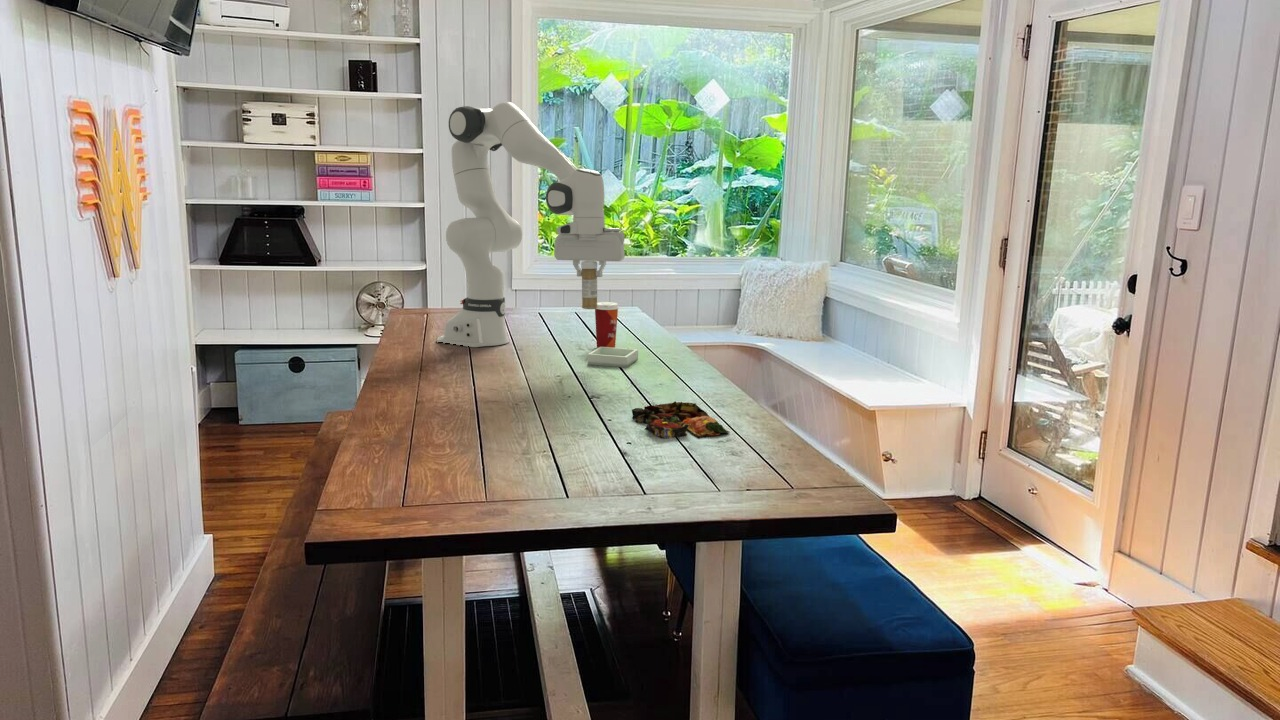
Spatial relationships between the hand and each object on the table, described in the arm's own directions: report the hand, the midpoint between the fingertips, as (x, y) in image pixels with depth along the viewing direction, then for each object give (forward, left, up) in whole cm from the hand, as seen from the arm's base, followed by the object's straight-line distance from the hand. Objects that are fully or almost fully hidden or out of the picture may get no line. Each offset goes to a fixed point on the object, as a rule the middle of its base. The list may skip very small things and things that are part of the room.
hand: (589, 276), depth 263 cm
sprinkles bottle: (0, 0, -9) cm, 9 cm away
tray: (+7, +1, -24) cm, 25 cm away
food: (+40, -55, -25) cm, 73 cm away
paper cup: (-1, +19, -25) cm, 31 cm away
